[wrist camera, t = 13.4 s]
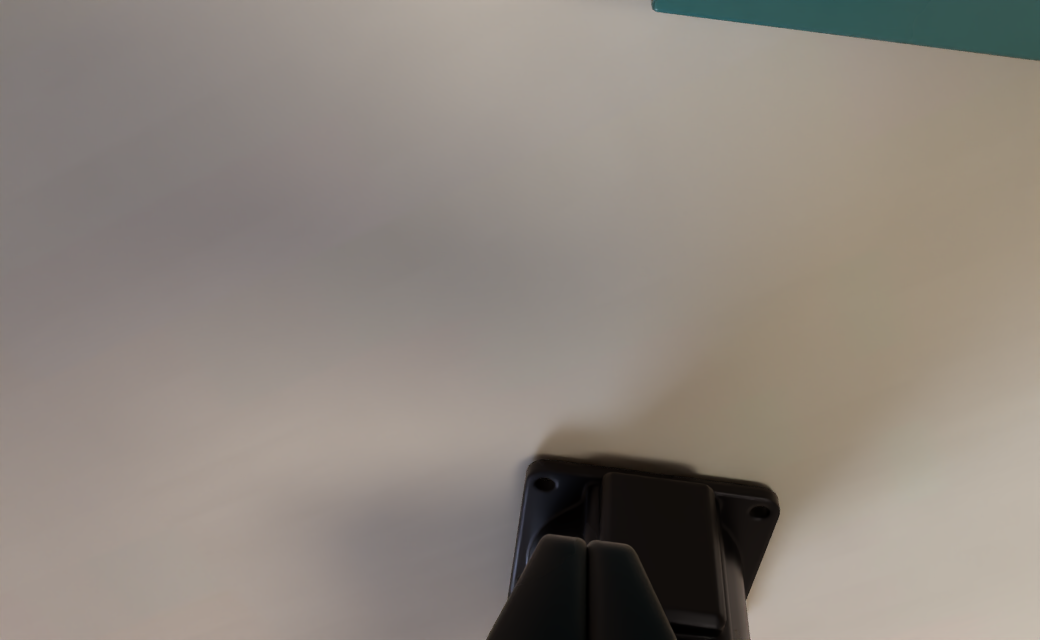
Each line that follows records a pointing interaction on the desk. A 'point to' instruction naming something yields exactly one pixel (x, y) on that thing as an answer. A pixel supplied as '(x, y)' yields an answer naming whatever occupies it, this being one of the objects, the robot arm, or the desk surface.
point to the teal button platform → (890, 20)
